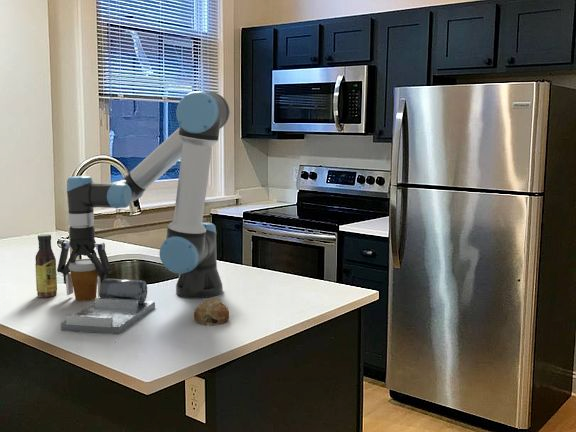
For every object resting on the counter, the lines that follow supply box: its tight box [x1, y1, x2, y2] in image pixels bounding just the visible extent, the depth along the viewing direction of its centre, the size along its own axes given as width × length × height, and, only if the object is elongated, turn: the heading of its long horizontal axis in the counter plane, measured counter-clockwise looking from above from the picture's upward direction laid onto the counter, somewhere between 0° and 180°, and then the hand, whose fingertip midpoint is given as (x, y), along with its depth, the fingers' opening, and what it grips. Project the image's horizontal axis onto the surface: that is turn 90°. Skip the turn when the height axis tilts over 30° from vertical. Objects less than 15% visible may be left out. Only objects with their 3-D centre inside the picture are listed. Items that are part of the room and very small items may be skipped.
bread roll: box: [193, 298, 230, 326], centre depth 185 cm, size 10×10×8 cm
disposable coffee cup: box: [68, 258, 99, 302], centre depth 206 cm, size 10×10×12 cm
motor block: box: [60, 278, 156, 335], centre depth 186 cm, size 17×25×9 cm
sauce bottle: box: [34, 233, 58, 298], centre depth 209 cm, size 7×6×20 cm
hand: (85, 294), depth 206 cm, fingers open, 10 cm apart
